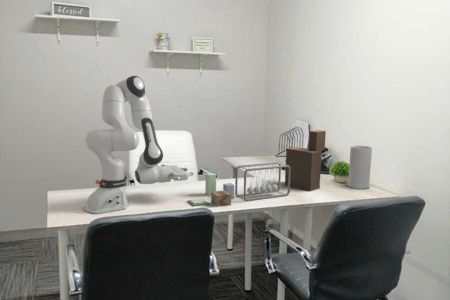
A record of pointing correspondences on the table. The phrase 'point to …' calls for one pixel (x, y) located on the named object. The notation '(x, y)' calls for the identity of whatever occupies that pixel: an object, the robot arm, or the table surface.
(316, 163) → the stacked brown boxes
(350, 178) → the cylinder vase
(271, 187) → the newton's cradle
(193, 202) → the green tile
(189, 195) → the table surface
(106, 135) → the robot arm
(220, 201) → the walnut block
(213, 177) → the green pillar
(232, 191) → the slate-blue pillar
